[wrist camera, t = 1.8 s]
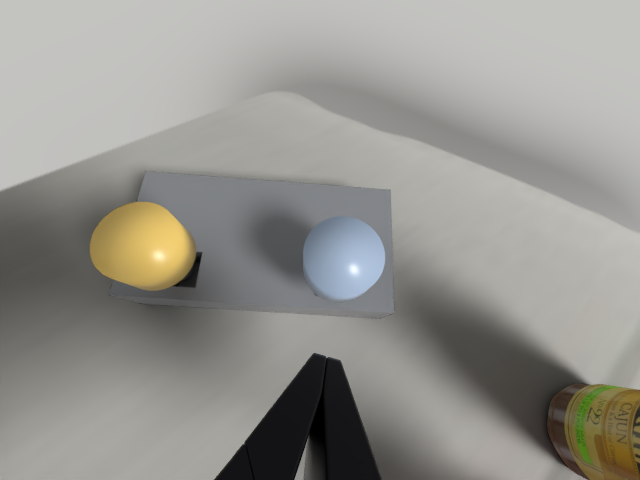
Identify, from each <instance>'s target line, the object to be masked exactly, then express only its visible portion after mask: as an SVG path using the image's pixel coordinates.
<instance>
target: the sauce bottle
mask: <svg viewBox="0 0 640 480" xmlns="http://www.w3.org/2000/svg"><path fill="white" fill-rule="evenodd" d="M547 429H548V434H549V436H550V439H551V441H552V443H553V445H554V447H555V449H556V451H557V452H558V454H559V455H560V457H561V459H562V460H563V461H564V463H565V464H566V465H567V466H568V467H569V468H570V469H571V470H572V471H574V472H575V473H576V474H578V475H580V476H582V477H583V478H585V479H587V480H640V390H636V389H629V388H623V387H616V386H611V385H603V384H597V385H587V384H572V385H569V386H568V387H566V388H564V389H563V390H561V391H560V392H558V393H557V394H556V395H554V397H553V398H552V400H551V402H550V406H549V411H548V422H547Z"/></svg>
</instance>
